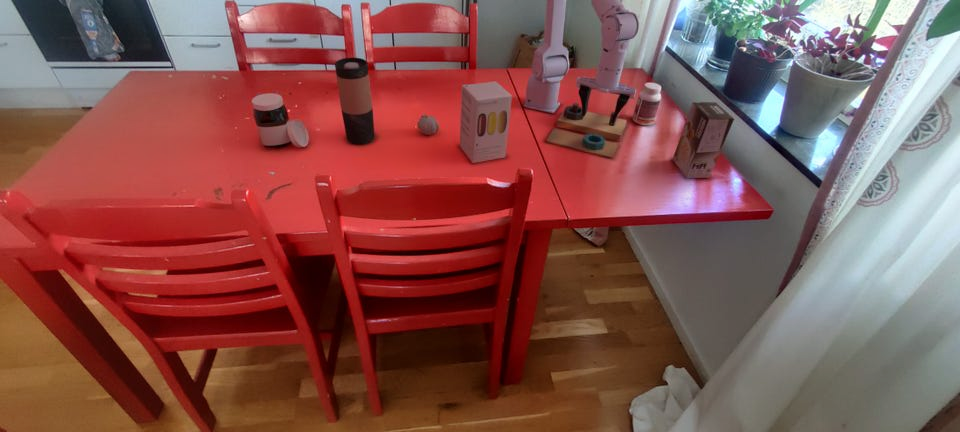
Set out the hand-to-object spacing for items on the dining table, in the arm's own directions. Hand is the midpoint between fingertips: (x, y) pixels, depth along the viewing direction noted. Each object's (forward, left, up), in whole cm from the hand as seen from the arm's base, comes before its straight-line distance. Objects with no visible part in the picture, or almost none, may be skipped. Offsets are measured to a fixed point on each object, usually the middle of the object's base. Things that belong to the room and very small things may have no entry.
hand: (598, 117), depth 119 cm
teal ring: (0, -1, -7) cm, 7 cm away
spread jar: (-71, -38, -8) cm, 81 cm away
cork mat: (-3, -1, -8) cm, 8 cm away
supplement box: (-25, -18, -8) cm, 32 cm away
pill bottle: (+10, +21, -8) cm, 25 cm away
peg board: (-3, +10, -8) cm, 13 cm away
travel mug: (-56, -27, -8) cm, 62 cm away
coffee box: (+25, 0, -8) cm, 27 cm away
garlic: (-42, -16, -8) cm, 45 cm away
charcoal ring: (-8, +10, -6) cm, 14 cm away
